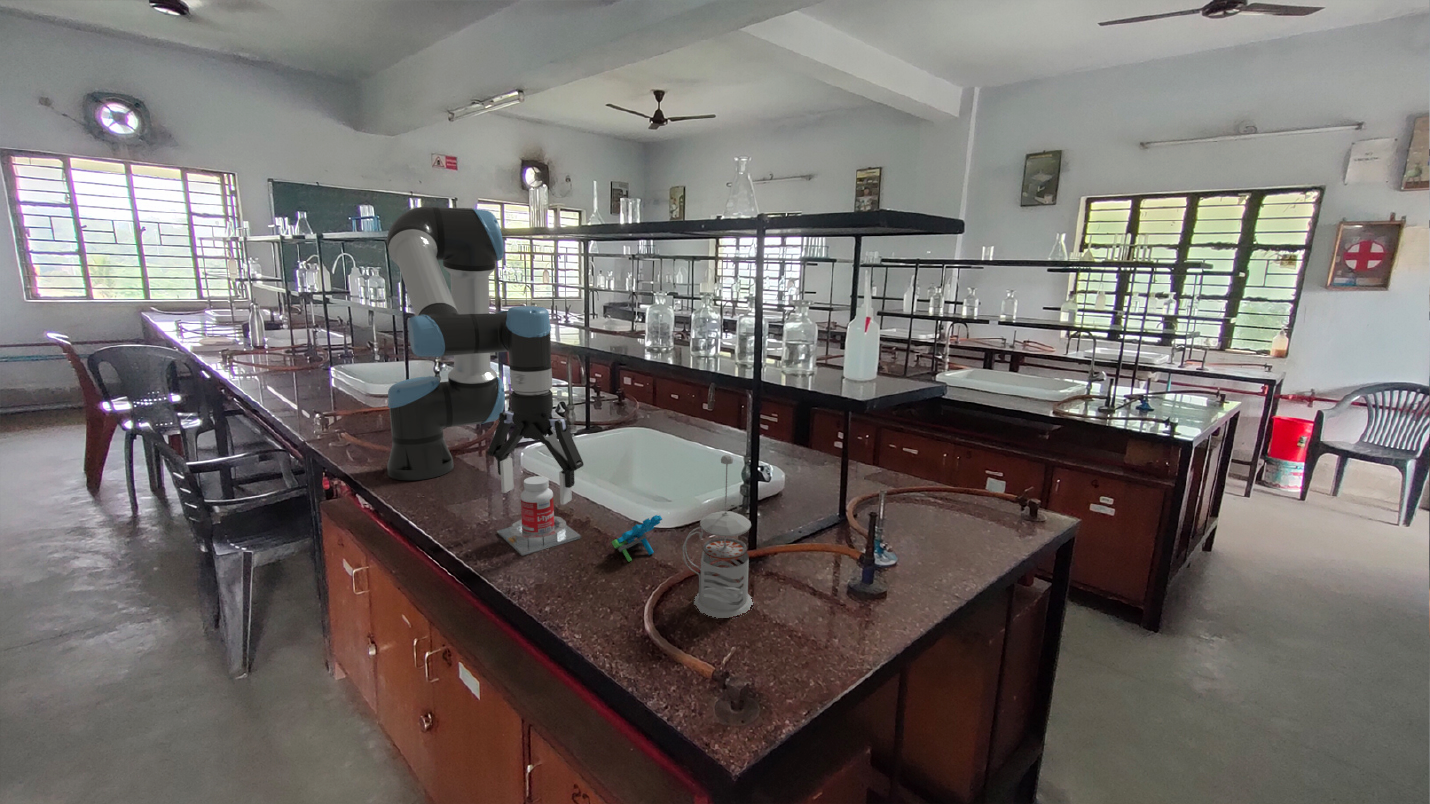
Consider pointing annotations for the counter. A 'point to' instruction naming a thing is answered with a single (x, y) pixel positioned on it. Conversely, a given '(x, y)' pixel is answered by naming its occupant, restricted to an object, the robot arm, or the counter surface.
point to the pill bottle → (537, 506)
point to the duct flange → (538, 537)
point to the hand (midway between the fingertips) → (536, 496)
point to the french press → (723, 563)
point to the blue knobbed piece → (637, 536)
